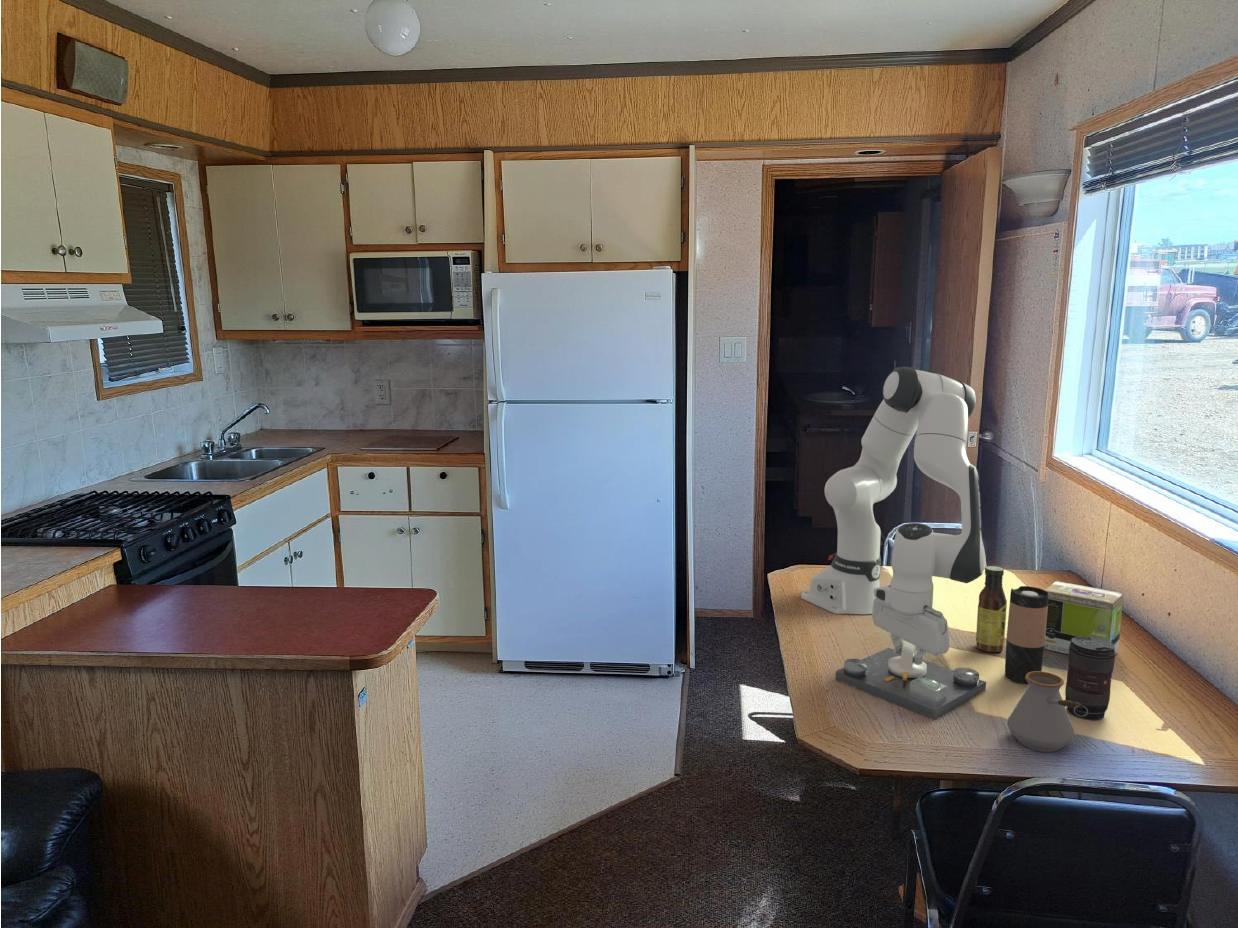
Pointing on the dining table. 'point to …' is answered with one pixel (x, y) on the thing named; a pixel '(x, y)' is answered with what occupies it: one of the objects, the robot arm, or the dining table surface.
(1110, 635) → the tea box
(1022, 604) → the travel mug
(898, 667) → the knob
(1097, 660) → the camera lens
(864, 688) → the levelling base
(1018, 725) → the coffee pot
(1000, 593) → the sauce bottle
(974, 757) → the dining table surface
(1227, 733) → the dining table surface
